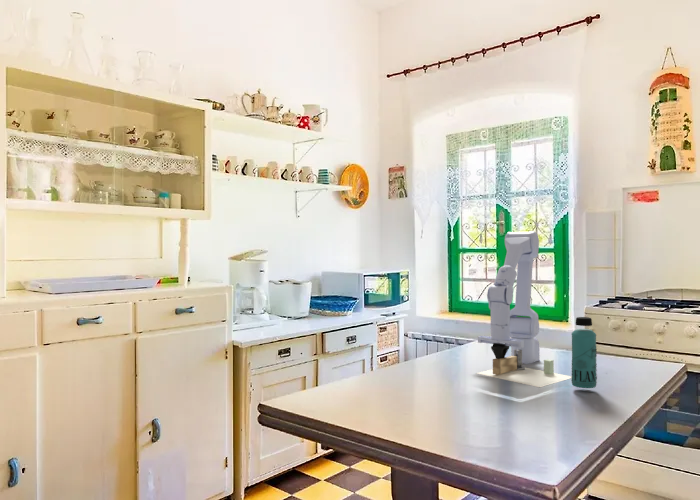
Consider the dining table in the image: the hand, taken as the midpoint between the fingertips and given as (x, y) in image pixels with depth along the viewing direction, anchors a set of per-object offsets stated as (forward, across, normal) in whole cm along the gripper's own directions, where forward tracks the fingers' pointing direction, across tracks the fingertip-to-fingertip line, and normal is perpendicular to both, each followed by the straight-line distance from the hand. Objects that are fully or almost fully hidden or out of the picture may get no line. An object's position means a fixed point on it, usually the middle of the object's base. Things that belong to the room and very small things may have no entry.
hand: (500, 368), depth 169 cm
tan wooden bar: (+1, +2, 0) cm, 2 cm away
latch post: (+2, +12, +8) cm, 14 cm away
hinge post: (+2, +2, +7) cm, 8 cm away
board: (+2, +7, +1) cm, 8 cm away
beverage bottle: (+2, +26, -2) cm, 26 cm away
